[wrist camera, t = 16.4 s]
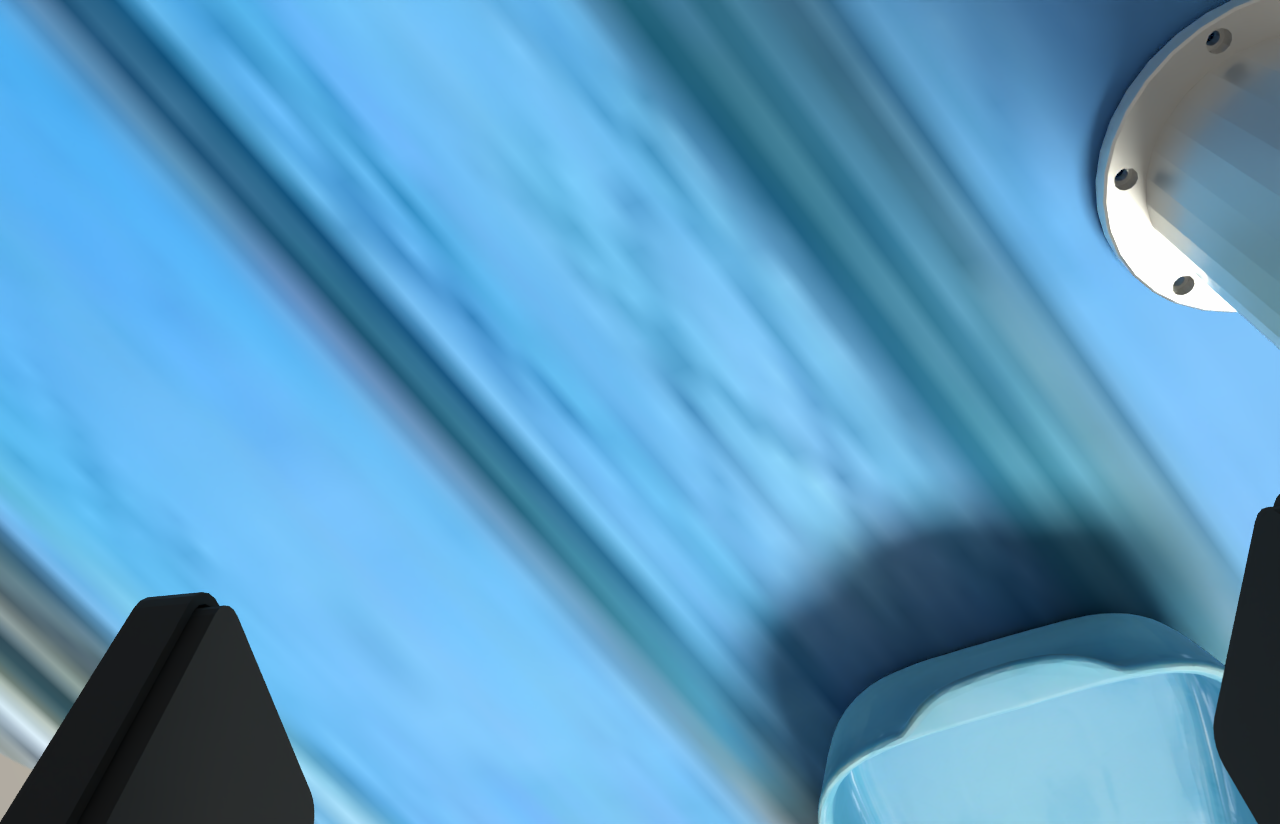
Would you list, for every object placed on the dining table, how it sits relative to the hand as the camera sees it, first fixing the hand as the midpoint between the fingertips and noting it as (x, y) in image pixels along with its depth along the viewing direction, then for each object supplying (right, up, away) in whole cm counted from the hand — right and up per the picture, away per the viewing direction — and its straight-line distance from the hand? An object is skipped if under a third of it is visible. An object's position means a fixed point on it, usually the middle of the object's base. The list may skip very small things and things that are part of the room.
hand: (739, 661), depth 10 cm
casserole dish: (+22, -20, +51) cm, 59 cm away
